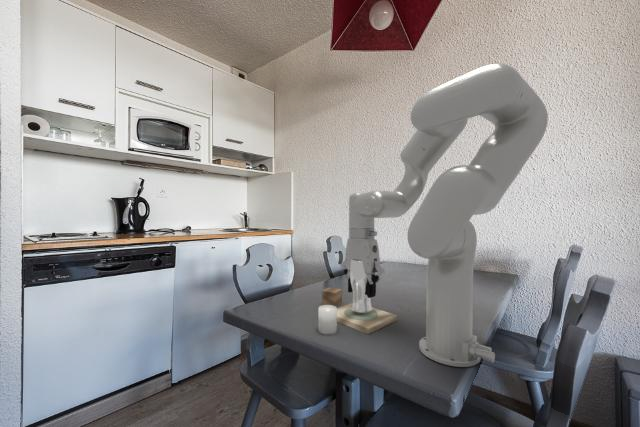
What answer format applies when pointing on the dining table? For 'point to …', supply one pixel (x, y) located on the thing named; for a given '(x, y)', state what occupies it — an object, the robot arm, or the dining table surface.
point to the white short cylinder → (327, 319)
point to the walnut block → (332, 296)
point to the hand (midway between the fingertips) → (361, 293)
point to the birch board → (364, 319)
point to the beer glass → (359, 287)
